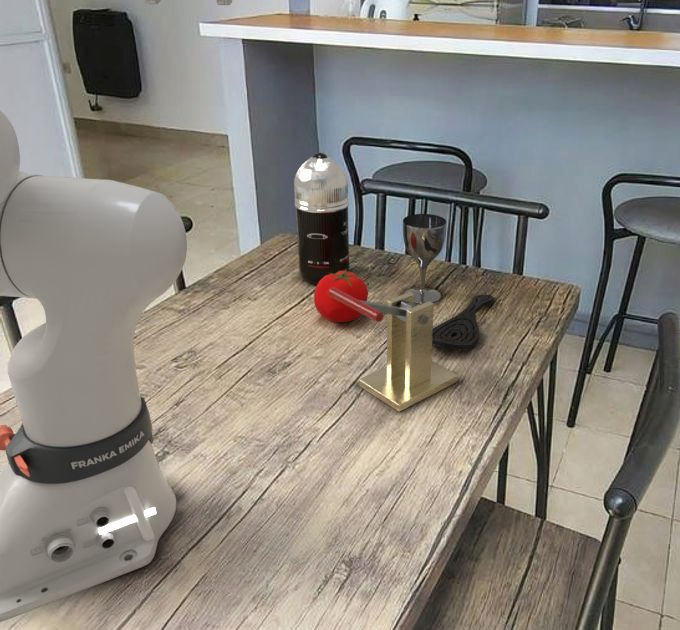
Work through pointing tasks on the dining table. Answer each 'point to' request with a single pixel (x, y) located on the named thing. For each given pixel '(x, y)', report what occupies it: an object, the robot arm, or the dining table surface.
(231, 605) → the dining table surface
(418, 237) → the metal goblet
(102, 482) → the robot arm
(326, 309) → the tomato
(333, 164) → the black silver domed canister
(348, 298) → the lever
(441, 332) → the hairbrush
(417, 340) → the bracket
